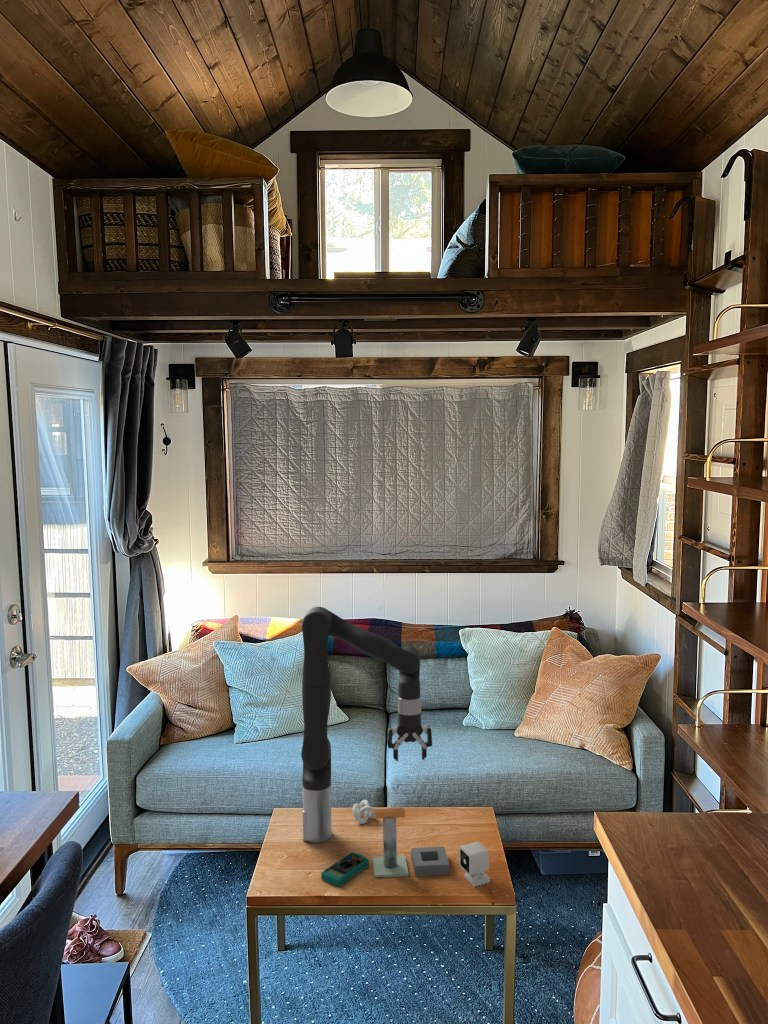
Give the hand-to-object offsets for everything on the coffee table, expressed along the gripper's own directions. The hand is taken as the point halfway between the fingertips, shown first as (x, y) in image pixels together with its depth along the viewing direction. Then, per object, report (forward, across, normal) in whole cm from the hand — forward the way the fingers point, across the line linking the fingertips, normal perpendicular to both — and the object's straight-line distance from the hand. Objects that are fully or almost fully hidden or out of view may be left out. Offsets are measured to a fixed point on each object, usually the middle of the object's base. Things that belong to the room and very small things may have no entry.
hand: (409, 759), depth 241 cm
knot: (+26, +15, -13) cm, 33 cm away
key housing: (+26, -4, +17) cm, 31 cm away
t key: (+25, +8, +17) cm, 31 cm away
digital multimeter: (+27, +22, +18) cm, 39 cm away
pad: (+26, +8, +17) cm, 32 cm away
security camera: (+26, -16, +26) cm, 40 cm away
